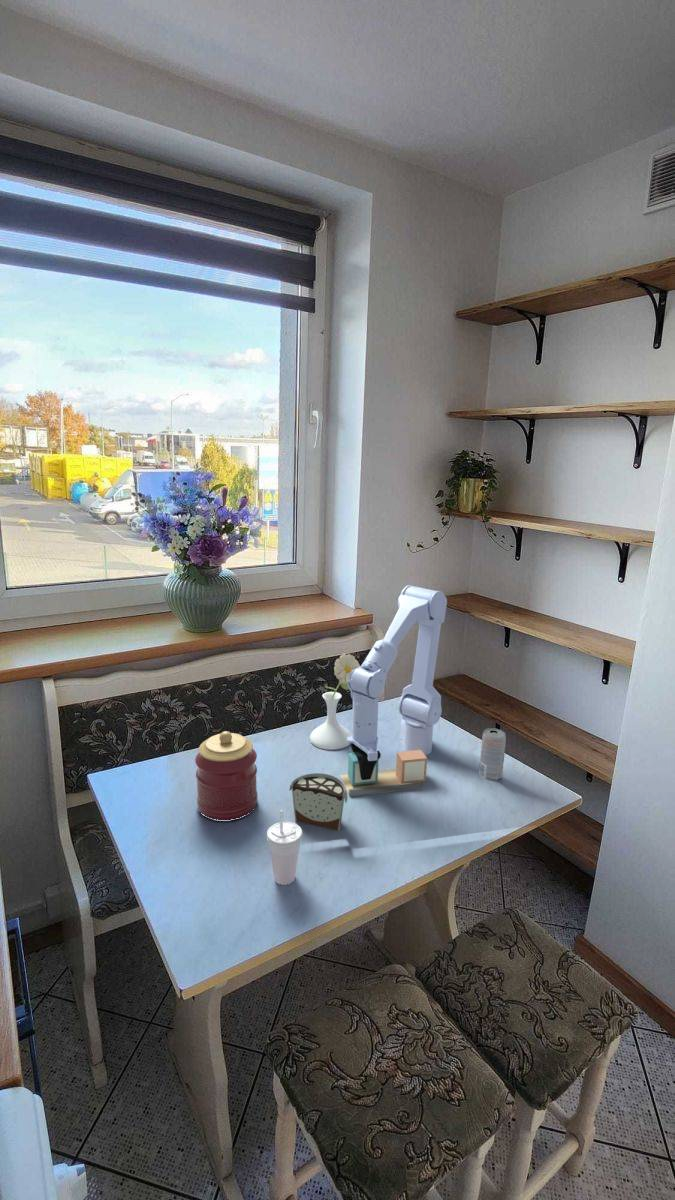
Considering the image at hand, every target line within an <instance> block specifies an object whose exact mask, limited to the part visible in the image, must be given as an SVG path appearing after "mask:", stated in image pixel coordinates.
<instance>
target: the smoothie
mask: <svg viewBox="0 0 675 1200" xmlns="http://www.w3.org/2000/svg"><path fill="white" fill-rule="evenodd" d="M266 840H267V842H268V845H269V851H270V857H271V864H272V871H273V876H274V881H275V882H276V884H278V885H280V884H281V885H280V886H288V885H290V883H291V882H292V883H294V881H295V880H296V873H297V872H296V871H297V866H298V859H299V858H298V857H299V851H300V844H301V842H302V840H303V829H302V827H301V826H299V825H298V824H297V823H294V822H291V821H284V810H283V809H280V810H279V822H277V823H274V824H273V825H271V826H269V828H268V829H267V831H266ZM292 883H291V884H292ZM287 884H288V885H287Z"/></svg>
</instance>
